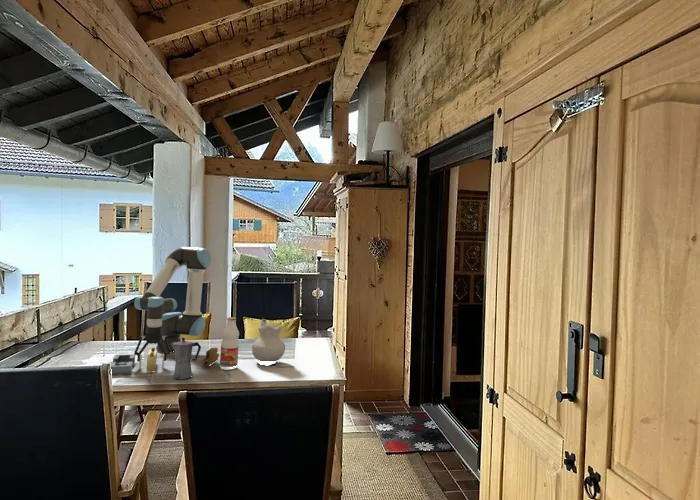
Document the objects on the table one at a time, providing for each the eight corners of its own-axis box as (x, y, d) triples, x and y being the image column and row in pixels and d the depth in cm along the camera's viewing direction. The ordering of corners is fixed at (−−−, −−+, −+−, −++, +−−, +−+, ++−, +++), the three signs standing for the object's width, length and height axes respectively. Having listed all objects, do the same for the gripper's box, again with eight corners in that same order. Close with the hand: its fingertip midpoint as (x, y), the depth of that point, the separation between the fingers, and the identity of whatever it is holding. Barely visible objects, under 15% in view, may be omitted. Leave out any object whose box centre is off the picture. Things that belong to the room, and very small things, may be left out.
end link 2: (130, 374, 219) (131, 365, 219) (108, 375, 216) (108, 366, 216) (132, 370, 227) (132, 361, 227) (110, 371, 223) (111, 362, 223)
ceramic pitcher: (242, 362, 259) (242, 321, 257) (269, 355, 273) (269, 316, 271) (264, 371, 244) (264, 327, 242) (291, 363, 258) (292, 322, 256)
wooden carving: (211, 361, 252) (212, 344, 252) (219, 362, 252) (220, 345, 252) (200, 369, 236) (201, 351, 236) (209, 370, 236) (210, 351, 236)
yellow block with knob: (148, 364, 240) (149, 347, 239) (156, 363, 241) (157, 346, 241) (146, 372, 226) (147, 353, 225) (154, 371, 227) (156, 353, 227)
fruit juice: (240, 367, 244) (243, 317, 244) (230, 371, 236) (233, 320, 235) (226, 364, 248) (230, 315, 248) (215, 368, 239) (219, 317, 239)
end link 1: (114, 362, 237) (115, 354, 237) (134, 362, 241) (135, 354, 241) (112, 367, 230) (113, 358, 230) (133, 366, 233) (134, 358, 233)
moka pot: (171, 373, 225) (173, 335, 225) (201, 374, 227) (204, 336, 227) (164, 379, 216) (167, 339, 216) (196, 380, 217) (199, 340, 217)
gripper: (129, 327, 225) (126, 370, 225) (177, 327, 234) (174, 368, 234) (131, 324, 232) (128, 366, 232) (177, 324, 241) (174, 364, 241)
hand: (151, 367), depth 233 cm, fingers open, 10 cm apart
